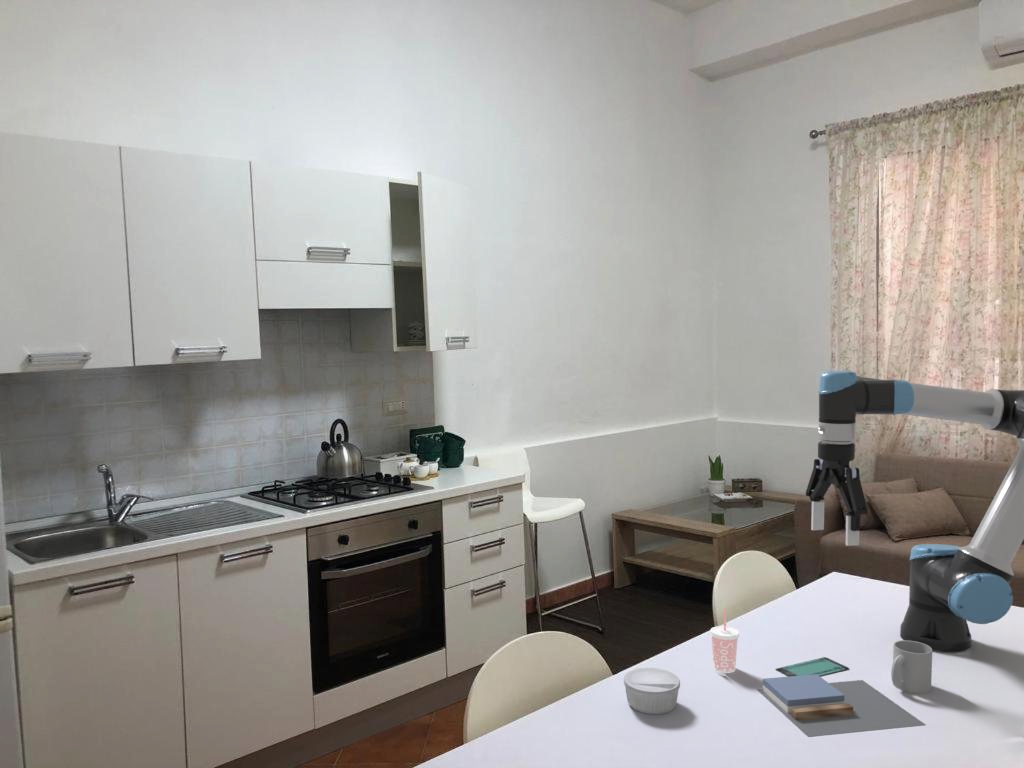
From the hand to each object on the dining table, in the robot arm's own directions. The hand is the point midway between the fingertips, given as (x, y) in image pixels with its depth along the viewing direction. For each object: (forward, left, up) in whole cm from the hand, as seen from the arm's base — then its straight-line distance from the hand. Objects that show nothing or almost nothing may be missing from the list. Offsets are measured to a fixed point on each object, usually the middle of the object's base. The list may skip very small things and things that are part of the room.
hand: (834, 537), depth 181 cm
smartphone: (+6, +3, -29) cm, 30 cm away
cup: (-8, +15, -29) cm, 34 cm away
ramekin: (+46, +11, -29) cm, 55 cm away
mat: (+11, +20, -29) cm, 37 cm away
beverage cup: (+25, -1, -29) cm, 38 cm away
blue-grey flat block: (+16, +21, -27) cm, 38 cm away
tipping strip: (+16, +23, -29) cm, 40 cm away
